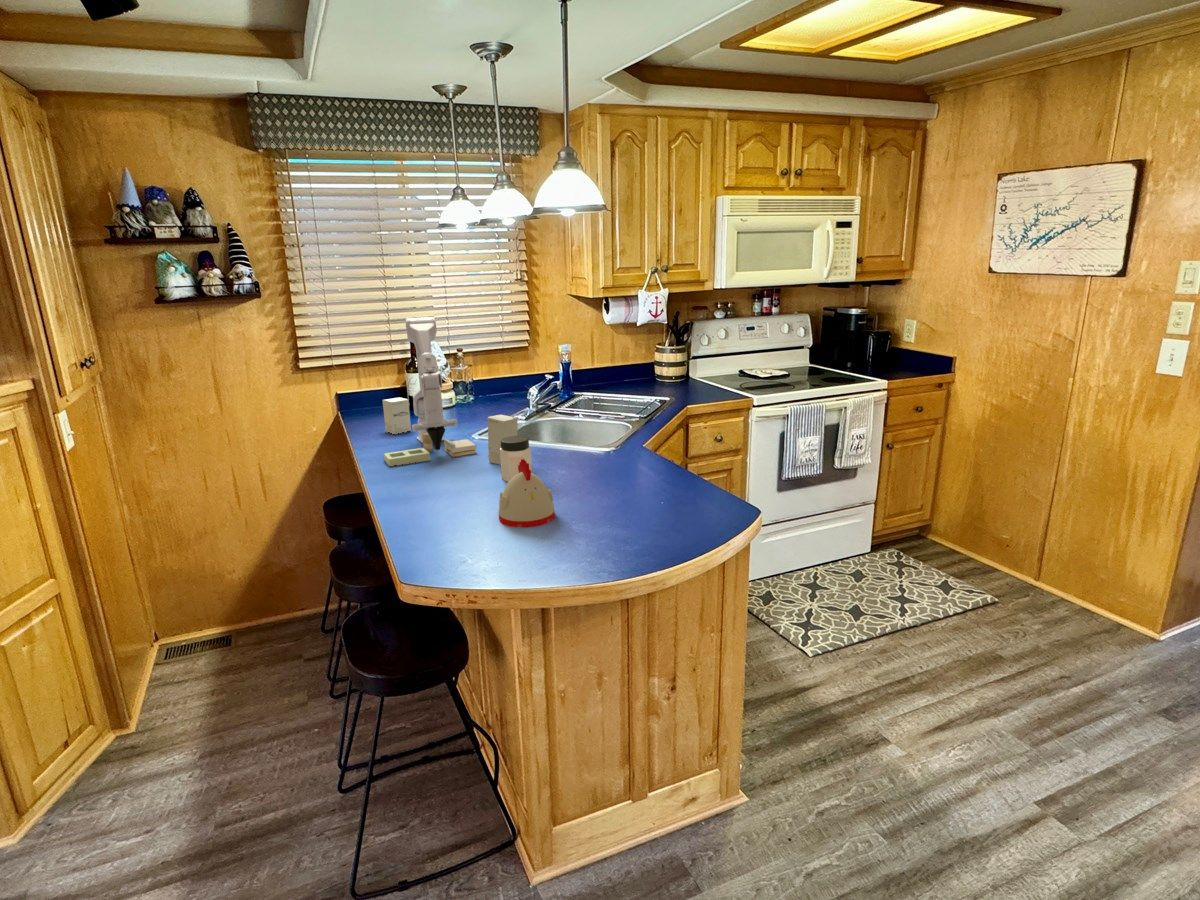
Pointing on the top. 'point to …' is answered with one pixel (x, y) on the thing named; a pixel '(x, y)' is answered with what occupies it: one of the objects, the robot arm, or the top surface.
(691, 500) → the top surface
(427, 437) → the peg
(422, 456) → the socket board
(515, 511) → the kitchen timer
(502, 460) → the jar
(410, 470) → the top surface
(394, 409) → the supplement box
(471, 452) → the board
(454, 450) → the lid
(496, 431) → the skincare box
